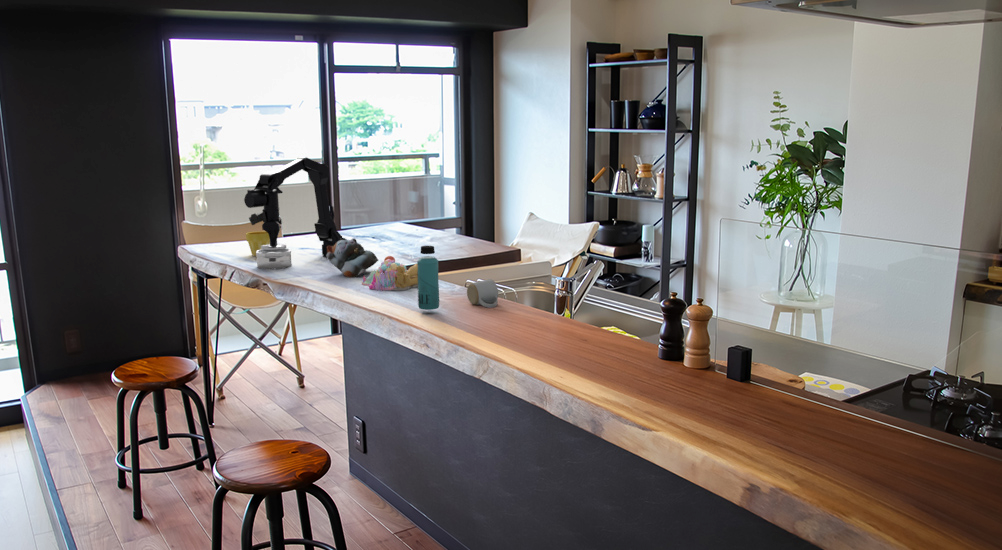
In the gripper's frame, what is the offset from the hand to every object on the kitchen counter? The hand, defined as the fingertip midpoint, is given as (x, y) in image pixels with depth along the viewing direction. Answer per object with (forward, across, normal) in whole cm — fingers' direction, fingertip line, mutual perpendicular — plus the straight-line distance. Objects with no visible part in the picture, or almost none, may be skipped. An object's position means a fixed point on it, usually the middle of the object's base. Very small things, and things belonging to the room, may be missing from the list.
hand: (273, 245), depth 295 cm
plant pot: (+9, -29, -8) cm, 31 cm away
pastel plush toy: (+9, +45, +44) cm, 63 cm away
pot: (+8, 0, 0) cm, 8 cm away
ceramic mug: (+9, +82, +68) cm, 108 cm away
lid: (+2, 0, 0) cm, 2 cm away
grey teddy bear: (+9, +23, +30) cm, 39 cm away
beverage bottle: (+9, +89, +50) cm, 102 cm away
